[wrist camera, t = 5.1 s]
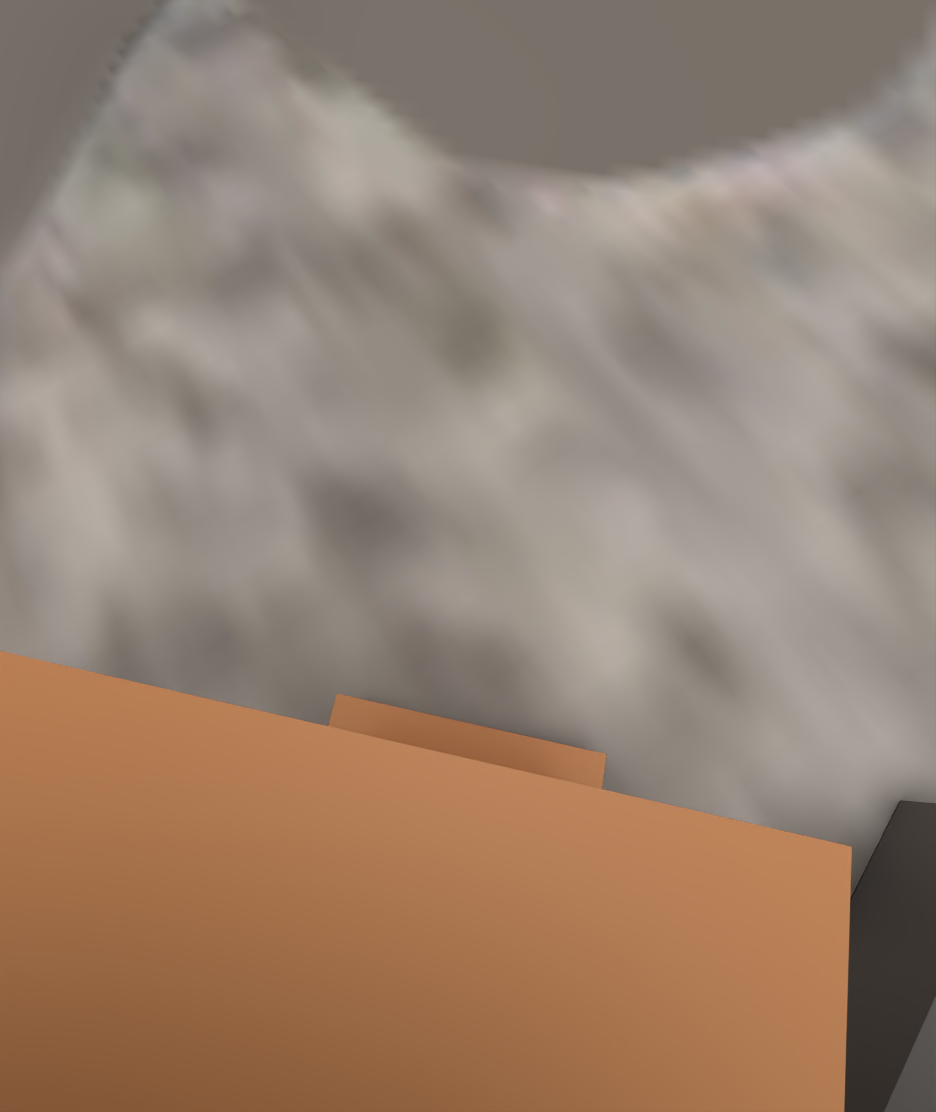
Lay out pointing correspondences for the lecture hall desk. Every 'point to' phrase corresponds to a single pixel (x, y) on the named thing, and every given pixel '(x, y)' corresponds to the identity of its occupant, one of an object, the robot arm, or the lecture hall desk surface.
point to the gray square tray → (894, 971)
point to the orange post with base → (388, 920)
